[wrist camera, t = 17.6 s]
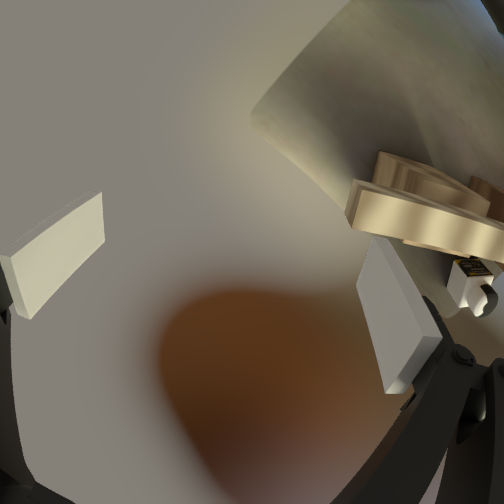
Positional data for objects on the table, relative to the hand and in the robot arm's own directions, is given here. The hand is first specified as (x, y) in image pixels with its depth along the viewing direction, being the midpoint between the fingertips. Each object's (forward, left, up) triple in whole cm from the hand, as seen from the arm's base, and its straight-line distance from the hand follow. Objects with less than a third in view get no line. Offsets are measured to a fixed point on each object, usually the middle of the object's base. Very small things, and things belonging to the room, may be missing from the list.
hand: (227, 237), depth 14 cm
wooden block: (-4, +23, -19) cm, 30 cm away
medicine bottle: (+5, +48, -37) cm, 61 cm away
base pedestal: (-4, +23, -37) cm, 44 cm away
